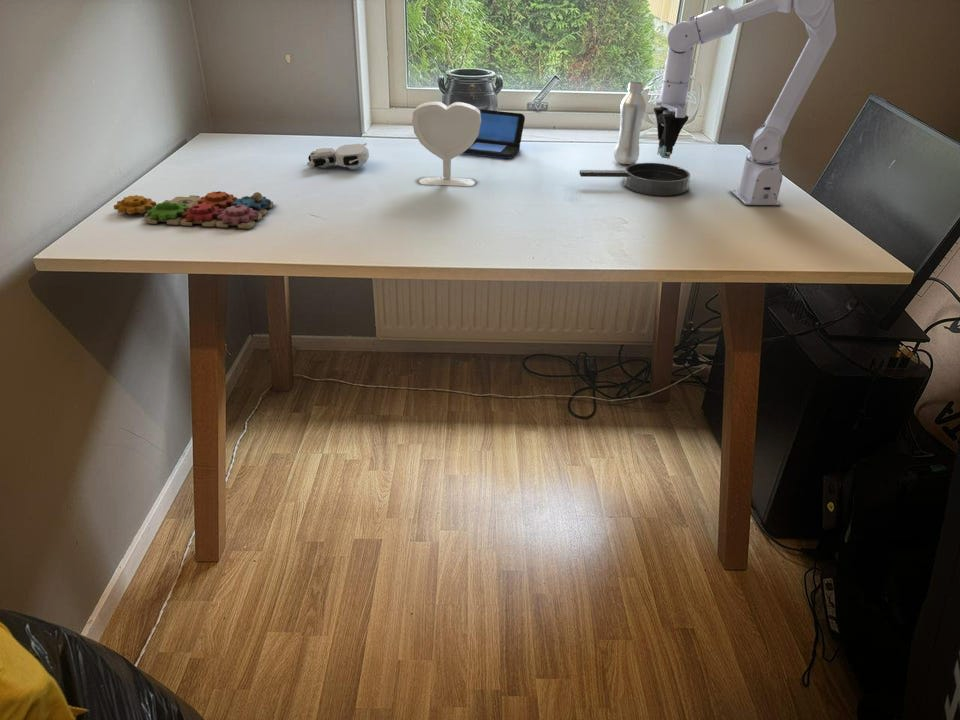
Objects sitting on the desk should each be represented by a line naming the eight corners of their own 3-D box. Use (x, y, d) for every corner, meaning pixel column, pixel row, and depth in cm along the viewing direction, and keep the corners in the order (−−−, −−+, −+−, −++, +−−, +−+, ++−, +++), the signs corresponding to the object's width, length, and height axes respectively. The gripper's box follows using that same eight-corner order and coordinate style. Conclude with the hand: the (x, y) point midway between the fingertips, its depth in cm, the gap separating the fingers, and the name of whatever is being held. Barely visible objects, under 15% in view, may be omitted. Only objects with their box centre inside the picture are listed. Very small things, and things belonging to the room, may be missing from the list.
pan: (695, 196, 160) (698, 181, 158) (631, 196, 159) (633, 181, 157) (677, 177, 172) (679, 163, 170) (617, 176, 172) (619, 162, 170)
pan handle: (626, 177, 163) (627, 172, 163) (580, 176, 163) (581, 172, 162) (624, 174, 165) (625, 170, 164) (579, 174, 164) (579, 169, 164)
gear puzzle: (99, 222, 138) (93, 202, 136) (140, 196, 151) (135, 178, 149) (251, 230, 136) (248, 210, 134) (278, 203, 149) (276, 185, 147)
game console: (455, 154, 186) (455, 118, 181) (470, 141, 196) (471, 108, 192) (511, 160, 182) (513, 124, 177) (523, 147, 193) (525, 113, 188)
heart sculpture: (413, 184, 163) (411, 104, 153) (415, 177, 167) (413, 99, 158) (479, 186, 163) (480, 106, 153) (479, 179, 167) (481, 102, 157)
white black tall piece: (679, 160, 160) (687, 117, 154) (656, 160, 160) (663, 116, 154) (672, 151, 165) (679, 108, 160) (650, 151, 165) (656, 108, 160)
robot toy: (307, 177, 168) (369, 172, 169) (304, 158, 166) (366, 153, 167) (312, 162, 178) (370, 157, 179) (309, 145, 176) (368, 140, 177)
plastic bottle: (636, 160, 184) (647, 80, 174) (639, 167, 178) (650, 86, 168) (612, 159, 185) (621, 79, 174) (613, 166, 179) (624, 84, 168)
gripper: (649, 75, 160) (641, 134, 167) (667, 87, 148) (657, 151, 155) (679, 75, 160) (670, 135, 168) (699, 87, 148) (688, 151, 155)
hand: (665, 142), depth 161 cm, fingers closed on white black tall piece, 5 cm apart
